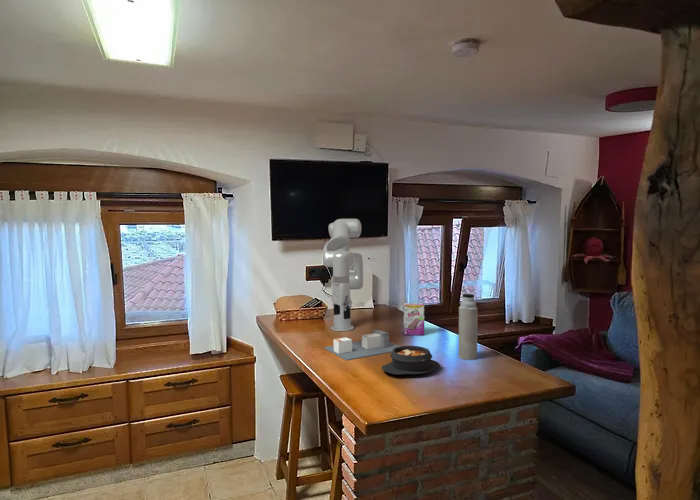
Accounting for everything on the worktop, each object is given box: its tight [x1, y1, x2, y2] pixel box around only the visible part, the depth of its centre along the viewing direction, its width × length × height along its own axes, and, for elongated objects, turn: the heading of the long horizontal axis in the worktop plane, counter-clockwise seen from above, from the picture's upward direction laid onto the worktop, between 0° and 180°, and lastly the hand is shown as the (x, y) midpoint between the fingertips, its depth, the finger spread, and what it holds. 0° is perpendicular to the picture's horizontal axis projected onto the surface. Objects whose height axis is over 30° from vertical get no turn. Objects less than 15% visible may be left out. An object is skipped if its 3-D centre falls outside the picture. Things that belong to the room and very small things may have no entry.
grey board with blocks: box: [323, 328, 401, 361], centre depth 217 cm, size 22×32×7 cm
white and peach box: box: [333, 336, 353, 354], centre depth 211 cm, size 5×7×6 cm
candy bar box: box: [402, 302, 425, 336], centre depth 242 cm, size 11×5×16 cm, turn 84°
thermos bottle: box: [458, 293, 479, 361], centre depth 202 cm, size 8×8×28 cm
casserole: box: [381, 345, 441, 376], centre depth 186 cm, size 25×19×8 cm
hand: (341, 316), depth 211 cm, fingers open, 9 cm apart
